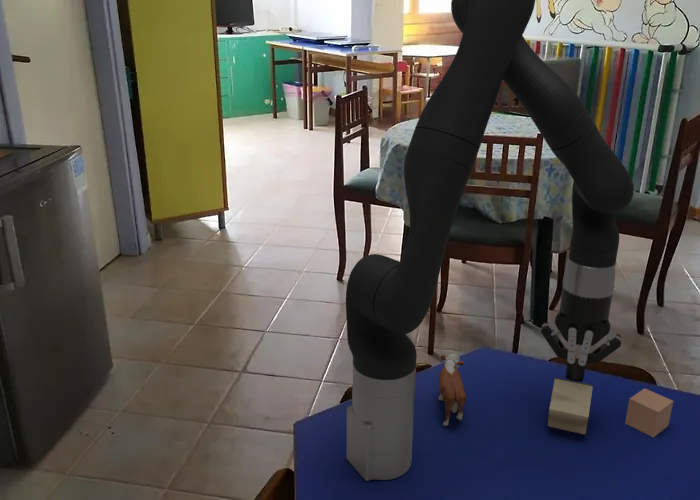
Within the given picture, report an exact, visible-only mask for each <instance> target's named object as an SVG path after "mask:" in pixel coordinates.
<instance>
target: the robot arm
mask: <svg viewBox="0 0 700 500" xmlns="http://www.w3.org/2000/svg"><path fill="white" fill-rule="evenodd" d="M535 3H536V0H451V2H450V9H451V10H450V11H451V16H452V19H453V21H454V24H455V26H456V27H457V28H458V30H459V32H461V33H462V36H461V38H460V43H459V45H458V48H457V51H456V54H455V56H454V58H453V60H452V61H451V62H450V63H451V64H450V65H449V67H448V68H447V71H446V72H445V74H444V75H443V77H442V78H441V80H440V81H439V82H438V84H437V86H436V87H435V89H434V91H433V92H432V94H431V96H430V97H429V99H428V100H427V102H426V104H425V106H424V108H423V109H422V111H421V113H420V115H419V118H418V120H417V123H416V125H415V127H414V130H413V132H412V136H411V139H410V141H409V145H408V148H407V150H406V154H405V158H404V162H403V177H404V178H403V179H404V186H405V187H404V188H405V193H406V198H407V205H408V211H409V230H408V235H407V236H408V237H407V240H406V244H405V247H404V251H403V254H402V257H401V261H400V260H396V259H394V258H391V257H389V256H386V255H383V254H377V253H371V254H368V255H366V256H364V257H362V258H360V259H359V260H358V261H357V262H356V264H355V265H354V266H353V268H352V269H351V271H350V272H349V273H350V274H349V277H348V280H347V284H346V289H345V317H346V318H345V319H346V337H347V339H346V340H347V345H348V348H349V350H350V352H351V355H352V395H351V396H352V397H351V398H352V399H351V401H352V404H351V405H350V406H347V407H346V460H347V461H348V462H349V464H350V465H351V466H352V467H353V468H354V469H355V470H356V472H358V473H359V475H360V476H361V477H362V478H363V479H364V481H366V482H370V481H372V480H380V481H387V480H388V481H389V480H394V479H397V478H400V477H402V476H403V475H405V474H406V473H407V472H408V471H409V470H410V468H411V465H412V458H413V457H412V456H413V434H414V414H415V412H414V411H415V395H416V394H415V393H416V392H415V391H416V373H417V371H416V370H417V356H418V355H417V348H416V345H415V343H413V341H412V340H411V339H410V337H409V336H408V335H407V334H410V333H412V332H414V331H415V330H416V329H418V327H419V326H420V325H421V324H422V322H423V321H424V319H425V317H426V316H427V314H428V312H429V309H430V308H431V307H430V306H431V305H432V302H433V299H434V295H435V292H436V290H437V289H436V288H437V284H438V280H439V277H440V273H441V270H442V265H443V259H444V255H445V252H446V248H447V245H448V240H449V237H450V234H451V230H452V227H453V225H454V221H455V217H456V216H457V212H458V209H459V206H460V203H461V201H462V198H463V194H464V191H465V189H466V186H467V183H468V181H469V179H470V176H471V174H472V171H473V169H474V168H473V167H474V165H475V163H476V160H477V156H478V154H479V152H480V148H481V145H482V142H483V139H484V135H485V131H486V129H487V127H488V124H489V121H490V118H491V115H492V113H493V109H494V106H495V103H496V100H497V97H498V94H499V91H500V88H501V85H502V82H504V83H505V84H506V85H507V87H508V89H510V90H511V92H512V93H513V94H514V96H515V97H516V98H517V100H518V101H519V103H520V104H521V106H522V107H523V108H524V109H525V111H526V113H527V114H528V116H529V117H530V119H531V120H532V122H533V123H534V125H535V126H536V128H537V129H538V131H539V133H540V134H541V136H542V138H543V140H544V141H545V143H546V144H547V146H548V147H549V148H550V150H551V152H552V153H553V155H554V156H555V157H556V158H557V159H558V161H560V162H561V164H563V165H564V167H565V168H566V170H567V171H568V173H569V175H570V177H571V178H572V180H573V182H572V188H571V190H572V192H571V205H572V206H571V214H572V215H571V216H572V217H571V218H572V219H571V220H572V232H571V236H570V242H569V243H570V244H569V248H568V249H569V251H568V257H567V261H566V265H565V268H564V275H563V278H562V289H561V297H560V304H559V305H560V306H559V311H558V313H557V314H556V316H555V318H554V320H552V321H549V322H548V321H545V322H543V323H542V325H541V329H540V333H541V335H542V336H543V337H544V339H545V340H546V341H547V343H548V345H549V346H550V348H551V350H552V351H553V353H554V354H555V355H556V357H557V358H559V359H563V360H565V361H566V364H567V365H566V371H565V378H566V379H567V380H572V381H577V382H582V383H583V381H584V378H585V371H586V366H587V365H590V364H591V365H594V366H595V365H597V364H599V363H600V362H602V361H603V360H604V359H606V358H607V357H608V356H610V355H611V354H612V353H614V352H615V351H617V350H618V349H620V348H621V345H622V336H621V334H618V333H615V332H614V331H612V329H611V323H610V321H609V317H610V311H611V305H612V300H613V293H614V290H615V282H616V264H617V263H616V262H617V257H618V253H619V252H618V251H619V246H620V230H619V229H618V226H617V224H616V214H617V213H620V212H622V211H623V210H625V209H626V208H627V207H628V206H629V205H630V204H631V202H632V200H633V197H634V191H635V189H634V188H635V187H634V183H633V179H632V177H631V175H630V173H629V172H628V170H627V168H625V166H624V163H622V160H620V159H619V157H618V156H617V155H616V153H615V152H614V150H612V148H611V147H610V146H609V144H608V143H607V142H606V140H605V138H604V137H603V136H602V134H601V132H600V131H599V128H598V126H597V125H596V123H595V121H594V120H593V117H592V116H591V114H590V112H589V111H588V109H587V108H586V106H585V104H584V103H583V101H582V99H581V98H580V97H579V95H578V94H577V92H575V90H574V89H573V87H572V86H570V85H569V84H568V83H567V81H566V80H564V78H562V77H561V76H560V75H559V74H557V72H555V71H554V70H553V69H552V68H551V67H549V65H548V64H547V63H545V62H544V61H543V60H542V59H541V57H539V55H537V53H536V52H535V51H534V50H533V49H532V47H531V46H530V44H529V43H528V42H527V40H526V39H525V37H524V36H523V35H524V33H525V31H526V29H527V27H528V25H529V22H530V21H531V17H532V16H533V12H534V9H535ZM558 331H559V333H560V335H561V336H562V337H563V339H564V340H565V341H566V342H567V348H566V345H564V343H563V341H562V340H561V339H560V337H559V336H558V334H557V332H558ZM602 339H604V342H603V343H602V344H600V345H599V346H598V347H597V348H595V349H594V350H593V351H592V352H590V349H591V347H593V346H595V345H596V344H598V343H599V342H600V341H601V340H602ZM578 346H580V350H579V351H580V352H579V355H578V358H577V349H578V348H577V347H578Z"/></svg>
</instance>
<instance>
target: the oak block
mask: <svg viewBox="0 0 700 500" xmlns="http://www.w3.org/2000/svg"><path fill="white" fill-rule="evenodd" d="M553 381H554V382H553V388H552V392H551V393H552V394H551V397H550V403H549V410H548V419H547V421H548V422H547V427H550V428H554V429H558V430H563V431H566V432H572V433H577V434H580V435H586V433H587V428H588V421H589V415H590V408H591V400H592V395H593V387H594V384H591V383H585V382H583V381H582V382H580V381H579V382H577V381H572V380H570V379H565V378H560V377H554V380H553Z"/></svg>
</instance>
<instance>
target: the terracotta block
mask: <svg viewBox="0 0 700 500" xmlns="http://www.w3.org/2000/svg"><path fill="white" fill-rule="evenodd" d="M673 405H674V400H672V399H670V398H668V397H666V396H664V395H661V394H658V393H657V392H654V391H652V390H649V389H647V388H645V387H644V388H643V389H642V390H639V391H638V392H636V393H635V394H634V395H633V396H631V397H629V400H628V406H627V410H626V416H625V422H624V424H625V425H628V426H630V427H631V428H634V429H635V430H638V431H639V432H641V433H643V434H645V435H647V436H649V437H651V438H655V437H656V436H658V435H659V434H660V433H661V432H663V431H664V430H666V429H667V427H669V424H670V421H671V420H670V419H671V415H672V410H673Z"/></svg>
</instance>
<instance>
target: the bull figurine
mask: <svg viewBox="0 0 700 500" xmlns="http://www.w3.org/2000/svg"><path fill="white" fill-rule="evenodd" d="M440 359H441V360H442V361H444V363H443V365H442V369H441V370H440V373H439V376H438V381H439V382H438V391H439V393H440V395H439V396H438V400H439V401H443V403H444V405H445V415H444V416H445V420H444V421H443V424H442V425H443V426H445V427H448V426H449V423H450V422H449V420H450V417H451V412H452V413H457V414H456V417H455V418H456V419H457V420H458V421H462V419H463V415H464V413H463V408H464V406H465V405H466V401H467V394H466V388H465V386H464V385H465V384H464V383H463V379H462V375H461V373H460V372H459V370H458V368H459V367H460V366H461V367H463V366H464V365H465V362H464V361H463V360H461V359H460V356H458V355H457V354H454V353H450V354H449V355H448V356H447V355H444V354H441V355H440Z"/></svg>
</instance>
